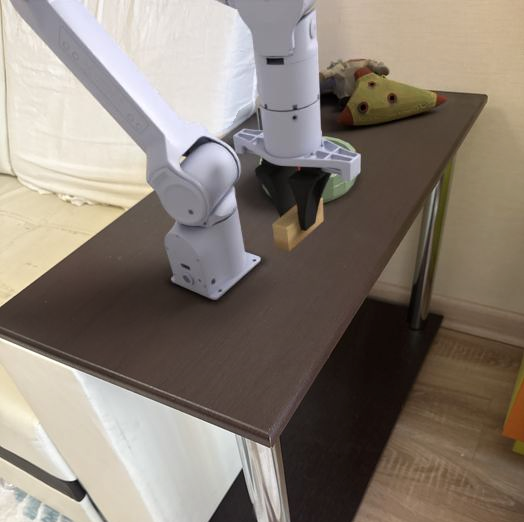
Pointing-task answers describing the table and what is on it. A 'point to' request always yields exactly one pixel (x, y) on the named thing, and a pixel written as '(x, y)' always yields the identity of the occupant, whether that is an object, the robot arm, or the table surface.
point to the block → (293, 228)
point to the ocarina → (384, 100)
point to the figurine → (347, 77)
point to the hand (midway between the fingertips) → (299, 223)
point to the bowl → (333, 177)
